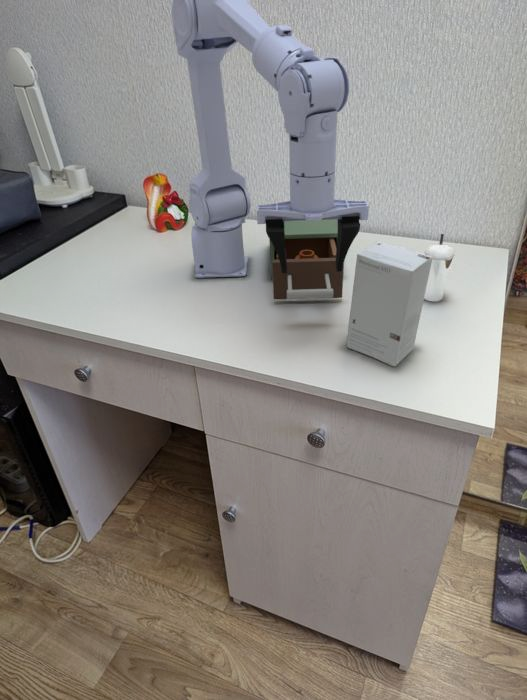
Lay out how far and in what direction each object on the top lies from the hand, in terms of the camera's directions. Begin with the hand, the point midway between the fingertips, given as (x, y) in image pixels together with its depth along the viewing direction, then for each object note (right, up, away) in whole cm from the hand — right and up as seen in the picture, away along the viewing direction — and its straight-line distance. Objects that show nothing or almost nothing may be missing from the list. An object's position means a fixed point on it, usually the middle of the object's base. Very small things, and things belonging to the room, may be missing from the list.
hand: (311, 269), depth 70 cm
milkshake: (+22, -2, +13) cm, 26 cm away
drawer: (+1, -1, +15) cm, 15 cm away
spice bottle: (+1, +1, +16) cm, 16 cm away
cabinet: (+1, +6, +26) cm, 27 cm away
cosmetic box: (+10, -11, +2) cm, 15 cm away
